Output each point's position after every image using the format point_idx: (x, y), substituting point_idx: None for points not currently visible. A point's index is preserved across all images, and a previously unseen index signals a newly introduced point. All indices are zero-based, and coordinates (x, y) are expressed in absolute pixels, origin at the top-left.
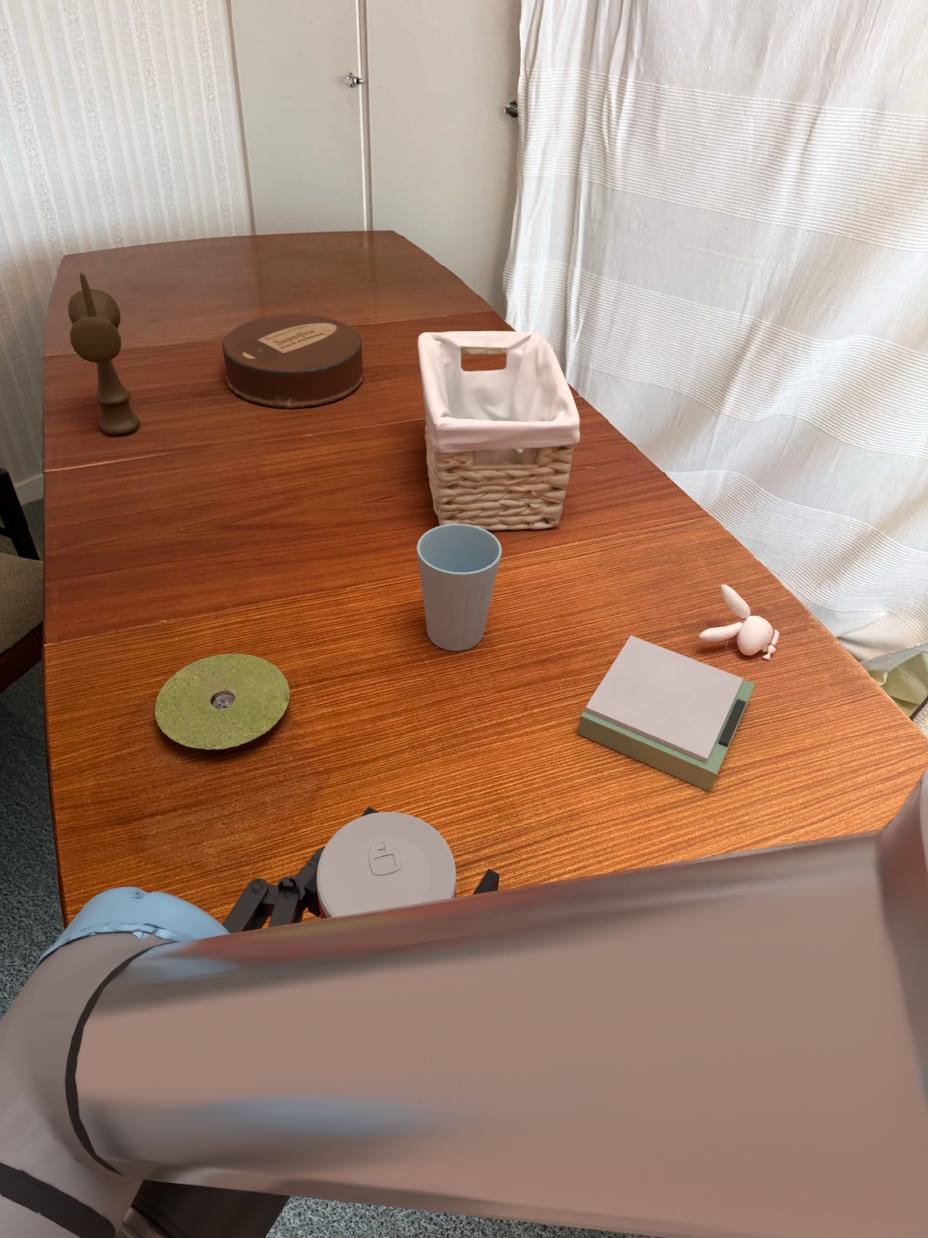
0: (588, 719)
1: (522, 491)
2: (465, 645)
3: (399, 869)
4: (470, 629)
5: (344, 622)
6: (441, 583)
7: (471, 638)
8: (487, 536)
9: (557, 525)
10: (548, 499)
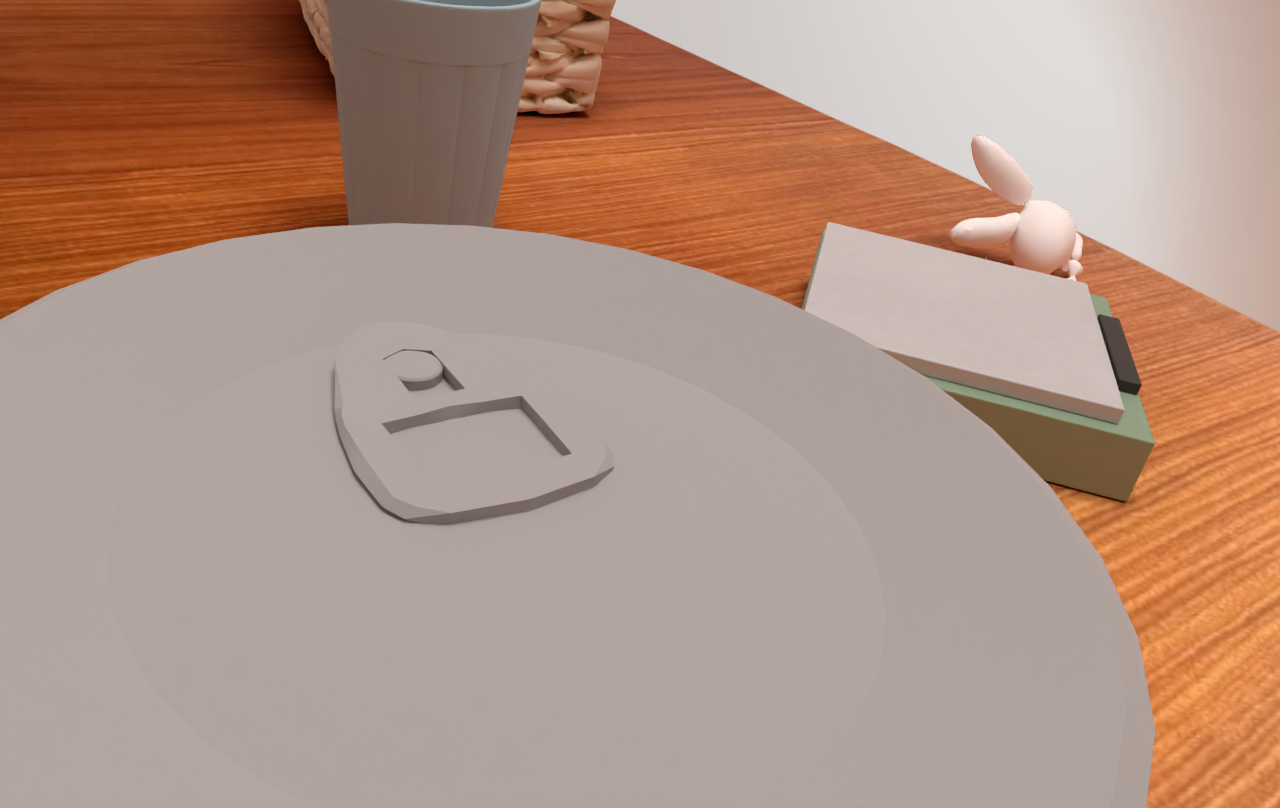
0: None
1: None
2: None
3: (604, 476)
4: (467, 204)
5: (125, 225)
6: (398, 43)
7: None
8: None
9: (590, 107)
10: (575, 41)
